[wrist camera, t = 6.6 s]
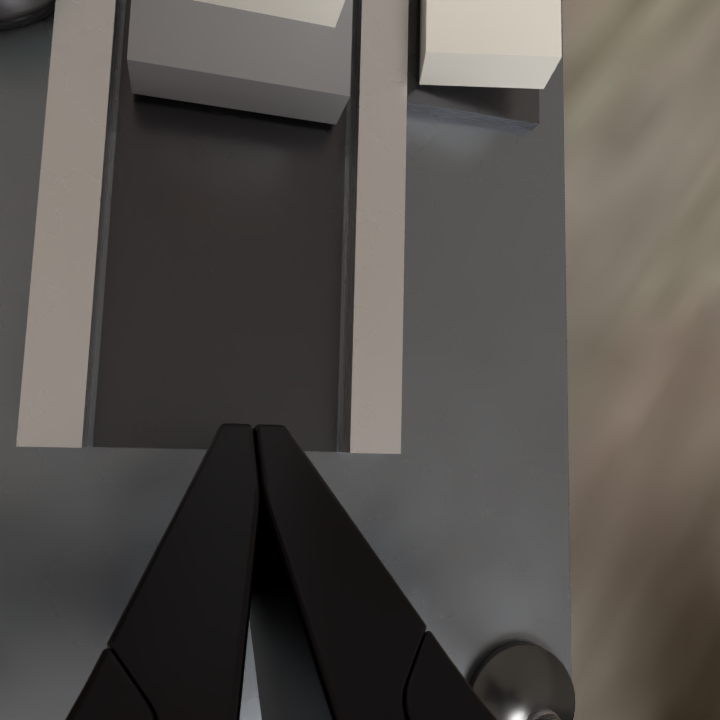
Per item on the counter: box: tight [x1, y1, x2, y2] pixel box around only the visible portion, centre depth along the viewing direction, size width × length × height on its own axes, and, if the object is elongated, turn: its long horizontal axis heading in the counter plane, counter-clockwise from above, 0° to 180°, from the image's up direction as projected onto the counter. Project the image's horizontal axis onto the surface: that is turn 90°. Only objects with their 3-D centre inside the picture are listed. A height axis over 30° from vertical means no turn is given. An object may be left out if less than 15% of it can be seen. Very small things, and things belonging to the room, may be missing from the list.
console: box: [0, 0, 575, 720], centre depth 15 cm, size 24×18×2 cm
